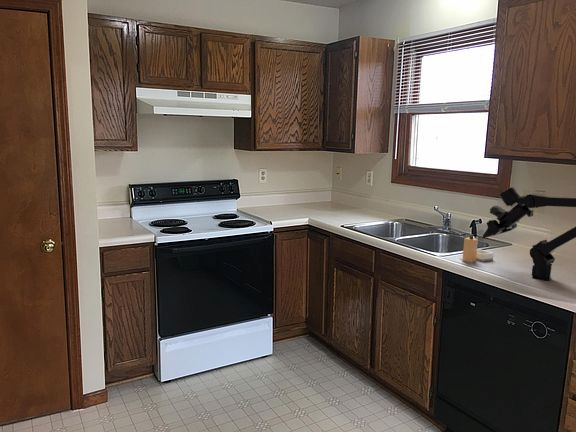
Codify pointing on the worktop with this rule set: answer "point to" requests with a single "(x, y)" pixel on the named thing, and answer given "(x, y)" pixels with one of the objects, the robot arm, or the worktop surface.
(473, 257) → the plug
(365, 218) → the worktop surface
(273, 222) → the worktop surface
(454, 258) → the worktop surface
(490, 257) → the socket
